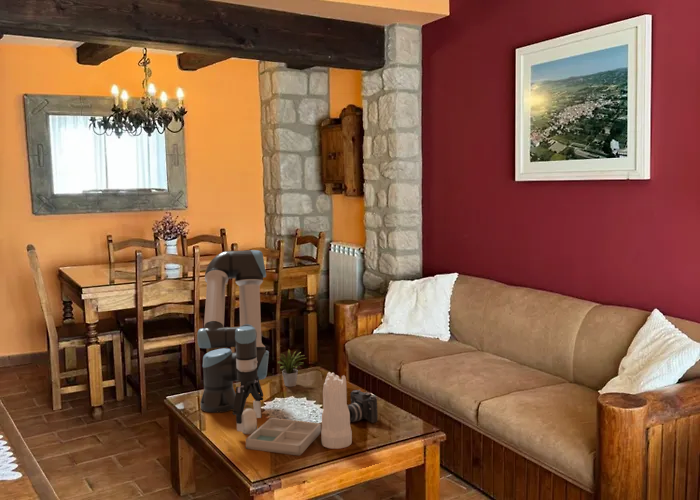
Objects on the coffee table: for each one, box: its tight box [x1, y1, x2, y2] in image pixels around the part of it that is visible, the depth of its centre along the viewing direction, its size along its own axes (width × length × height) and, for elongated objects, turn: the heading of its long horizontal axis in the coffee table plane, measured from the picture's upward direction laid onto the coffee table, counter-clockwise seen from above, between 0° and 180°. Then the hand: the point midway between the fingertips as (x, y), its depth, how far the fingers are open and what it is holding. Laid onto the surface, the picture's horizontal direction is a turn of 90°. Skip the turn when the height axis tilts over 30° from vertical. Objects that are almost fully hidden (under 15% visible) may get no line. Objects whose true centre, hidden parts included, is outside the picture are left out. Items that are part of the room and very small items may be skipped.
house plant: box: [276, 348, 307, 388], centre depth 298 cm, size 14×14×16 cm
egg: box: [241, 407, 258, 435], centre depth 248 cm, size 6×6×9 cm
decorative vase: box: [320, 371, 353, 450], centre depth 236 cm, size 11×11×25 cm
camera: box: [347, 389, 379, 424], centre depth 258 cm, size 14×11×10 cm
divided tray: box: [245, 417, 322, 457], centre depth 240 cm, size 20×20×4 cm
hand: (249, 424), depth 249 cm, fingers open, 13 cm apart
